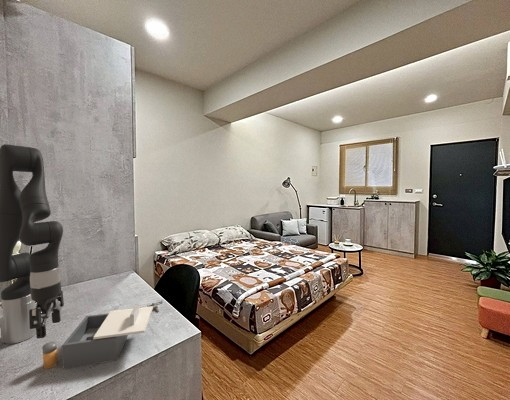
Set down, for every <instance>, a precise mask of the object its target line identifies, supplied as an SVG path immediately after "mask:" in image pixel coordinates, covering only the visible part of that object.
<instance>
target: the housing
mask: <svg viewBox="0 0 510 400" xmlns="http://www.w3.org/2000/svg"><path fill="white" fill-rule="evenodd" d="M109 313H110V312H109ZM109 313H107V312H106V313H99V314H91V315H85V317H84V318H83V319H82V320H81V322H80V323H79V324H78V325H77V326H76V328H75V329H74V330H73V331H72V332H71V334H70V335H69V336H68V337H67V339H66V340H65V341H64V342H63V343H62V345H61V353H62V368H63V369H70V368H77V367H84V366H89V365H95V364H101V363H107V362H114V361H118V358H119V357H120V354H121V352H122V350H123V347H124V345H125V343H126V341H127V339H128V336H129V335H123V336H116V337H108V338H101V339H94V340H93V337H94V336H95V334H96V333H97V331H98V330H99V328H100V327H101V325H102V323H103V322H104V320H105V319H106V317H107V316H108V314H109Z"/></svg>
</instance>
